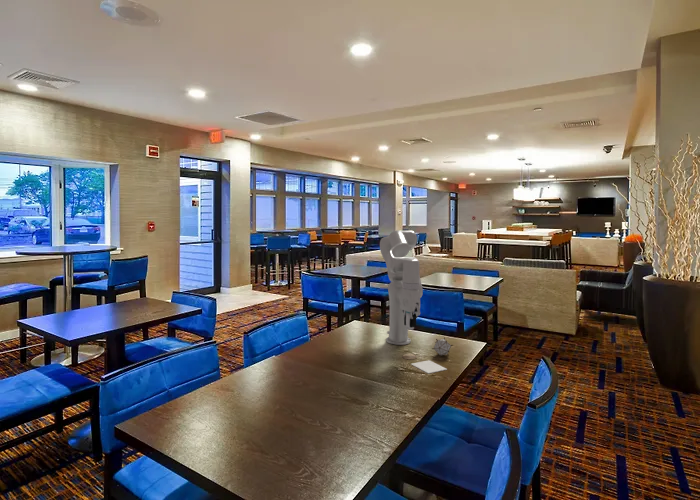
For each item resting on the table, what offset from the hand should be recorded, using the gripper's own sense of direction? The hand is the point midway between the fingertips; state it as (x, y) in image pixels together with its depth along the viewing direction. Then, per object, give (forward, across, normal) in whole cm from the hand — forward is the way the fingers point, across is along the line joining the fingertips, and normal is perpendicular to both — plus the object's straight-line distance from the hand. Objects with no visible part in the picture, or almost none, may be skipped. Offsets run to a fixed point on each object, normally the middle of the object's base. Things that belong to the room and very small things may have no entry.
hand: (410, 325), depth 188 cm
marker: (+1, 0, 0) cm, 1 cm away
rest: (+15, 0, 0) cm, 15 cm away
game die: (+15, +5, +15) cm, 22 cm away
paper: (+15, +14, 0) cm, 20 cm away
